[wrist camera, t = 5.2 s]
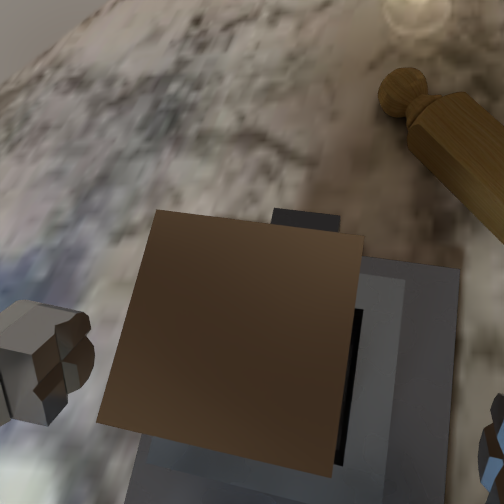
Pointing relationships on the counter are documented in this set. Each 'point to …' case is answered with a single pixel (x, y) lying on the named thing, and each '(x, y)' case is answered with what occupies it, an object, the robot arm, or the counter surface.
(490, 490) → the robot arm
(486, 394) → the counter surface
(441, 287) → the stand
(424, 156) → the tap handle
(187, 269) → the column
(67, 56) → the counter surface
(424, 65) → the counter surface
